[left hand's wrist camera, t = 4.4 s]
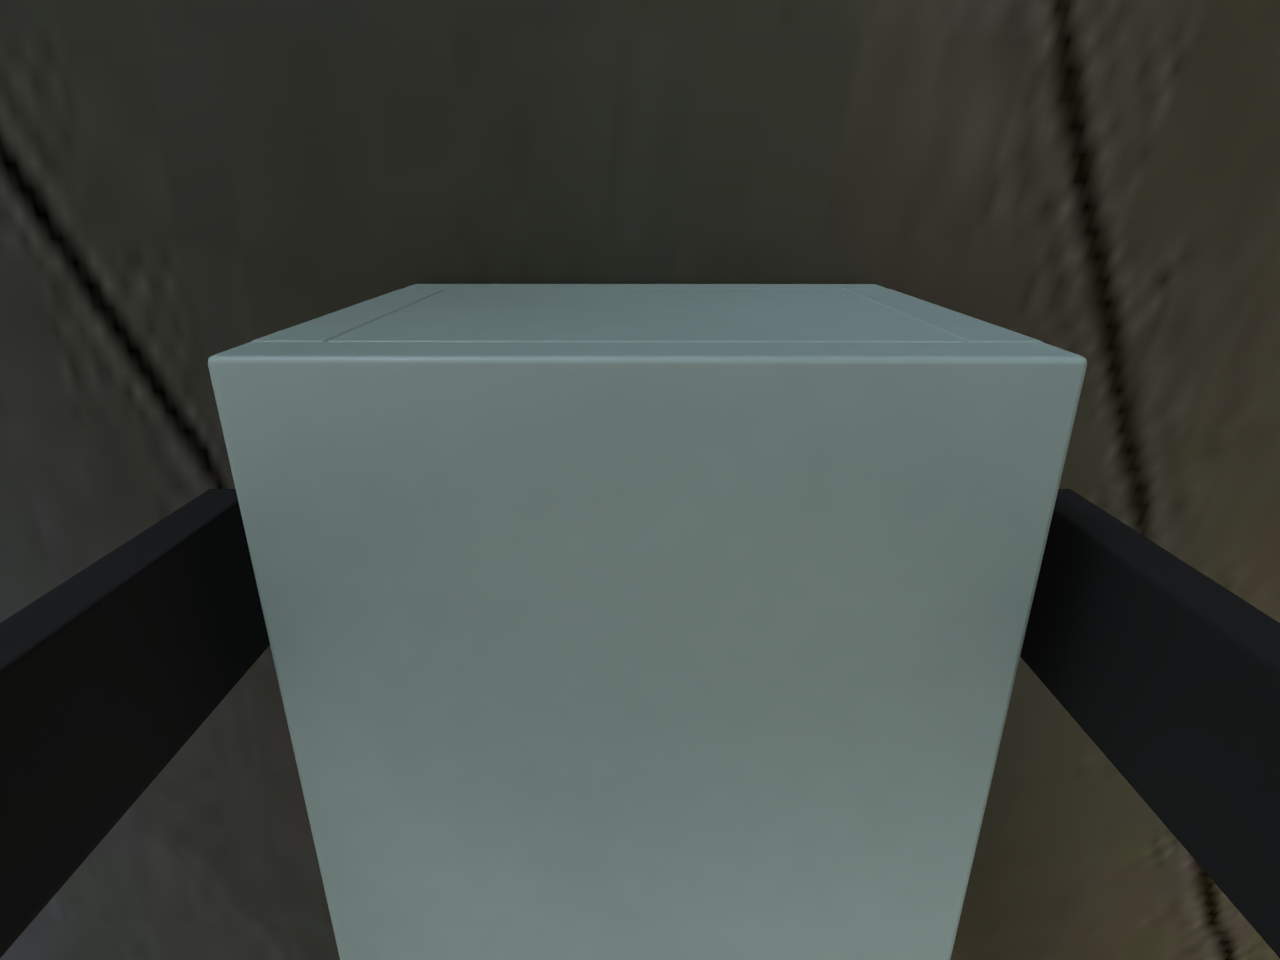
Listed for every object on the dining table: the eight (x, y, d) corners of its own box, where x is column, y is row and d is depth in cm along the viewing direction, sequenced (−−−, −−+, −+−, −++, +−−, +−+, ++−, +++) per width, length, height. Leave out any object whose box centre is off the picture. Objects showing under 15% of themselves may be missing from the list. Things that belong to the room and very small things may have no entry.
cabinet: (803, 916, 24) (882, 1266, 16) (483, 915, 24) (405, 1263, 16) (877, 283, 16) (1093, 357, 8) (412, 283, 16) (201, 356, 9)
